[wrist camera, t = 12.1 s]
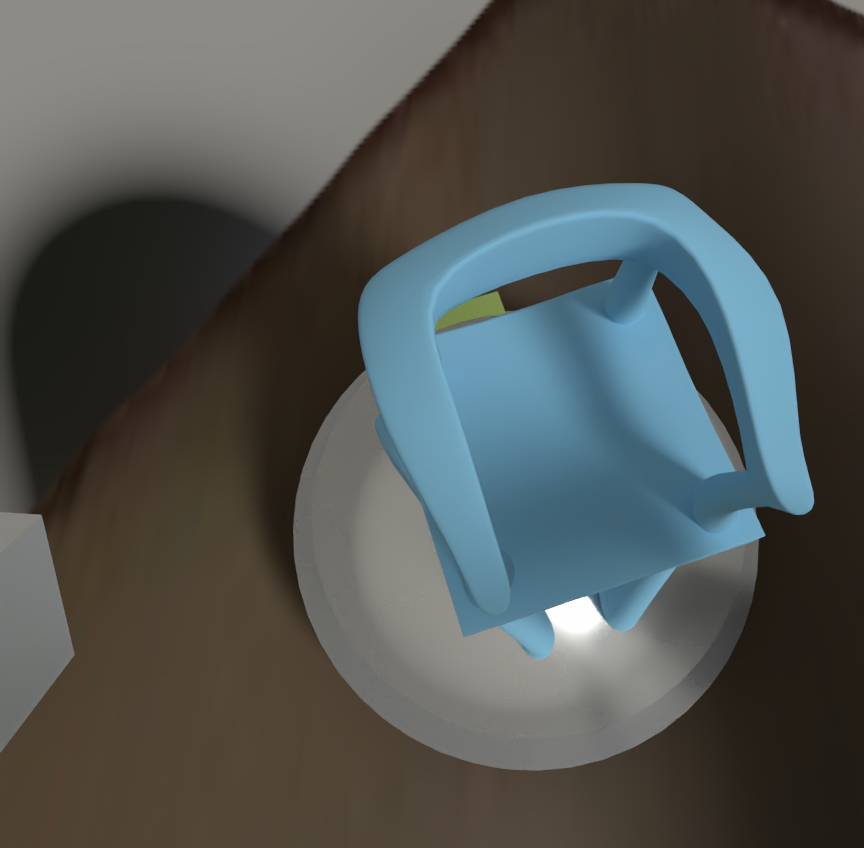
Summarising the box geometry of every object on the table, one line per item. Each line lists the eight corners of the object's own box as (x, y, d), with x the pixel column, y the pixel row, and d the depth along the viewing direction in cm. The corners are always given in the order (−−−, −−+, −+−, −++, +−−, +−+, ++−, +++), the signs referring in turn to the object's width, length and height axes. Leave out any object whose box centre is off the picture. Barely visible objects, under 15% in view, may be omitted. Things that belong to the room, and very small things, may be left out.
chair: (456, 688, 21) (434, 711, 10) (374, 423, 24) (282, 199, 12) (710, 602, 22) (974, 530, 10) (604, 351, 24) (718, 69, 13)
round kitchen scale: (634, 303, 30) (663, 234, 25) (799, 682, 25) (872, 683, 21) (274, 410, 30) (235, 359, 25) (372, 818, 25) (347, 851, 20)
